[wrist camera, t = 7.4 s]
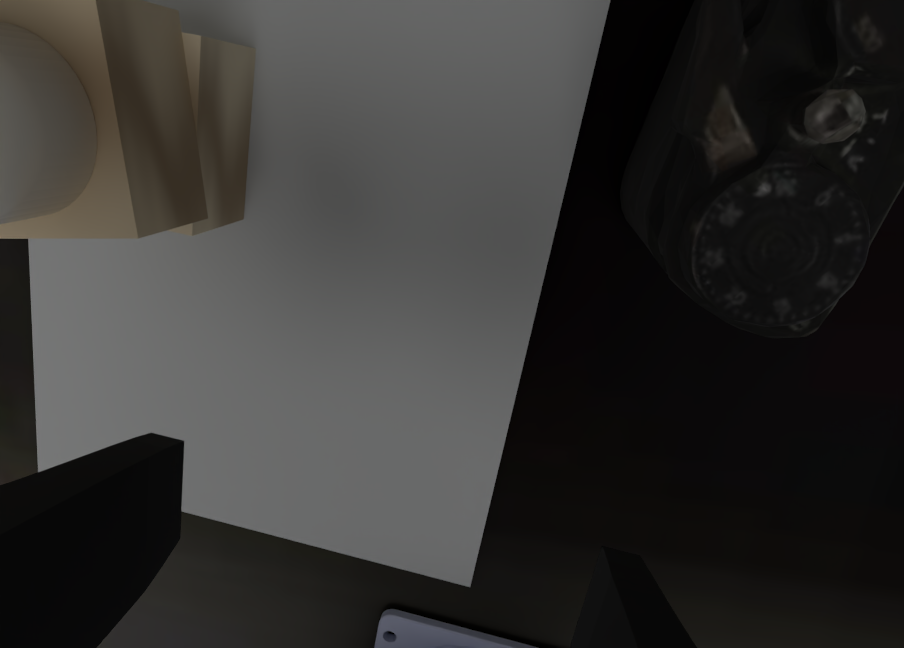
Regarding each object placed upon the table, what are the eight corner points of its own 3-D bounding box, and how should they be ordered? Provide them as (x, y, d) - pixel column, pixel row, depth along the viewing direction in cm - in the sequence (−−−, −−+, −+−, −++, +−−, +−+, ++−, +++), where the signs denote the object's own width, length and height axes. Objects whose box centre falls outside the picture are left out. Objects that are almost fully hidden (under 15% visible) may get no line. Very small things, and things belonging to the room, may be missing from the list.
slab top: (207, 218, 17) (138, 238, 14) (41, 219, 18) (-57, 238, 15) (178, 10, 15) (93, -15, 12) (-4, 21, 16) (-123, 1, 13)
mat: (471, 579, 23) (470, 587, 23) (46, 468, 25) (38, 473, 24) (616, -28, 17) (617, -31, 16) (23, -129, 18) (12, -134, 18)
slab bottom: (243, 219, 20) (192, 235, 17) (96, 187, 20) (22, 198, 17) (256, 48, 18) (201, 35, 15) (95, 18, 19) (13, 0, 16)
